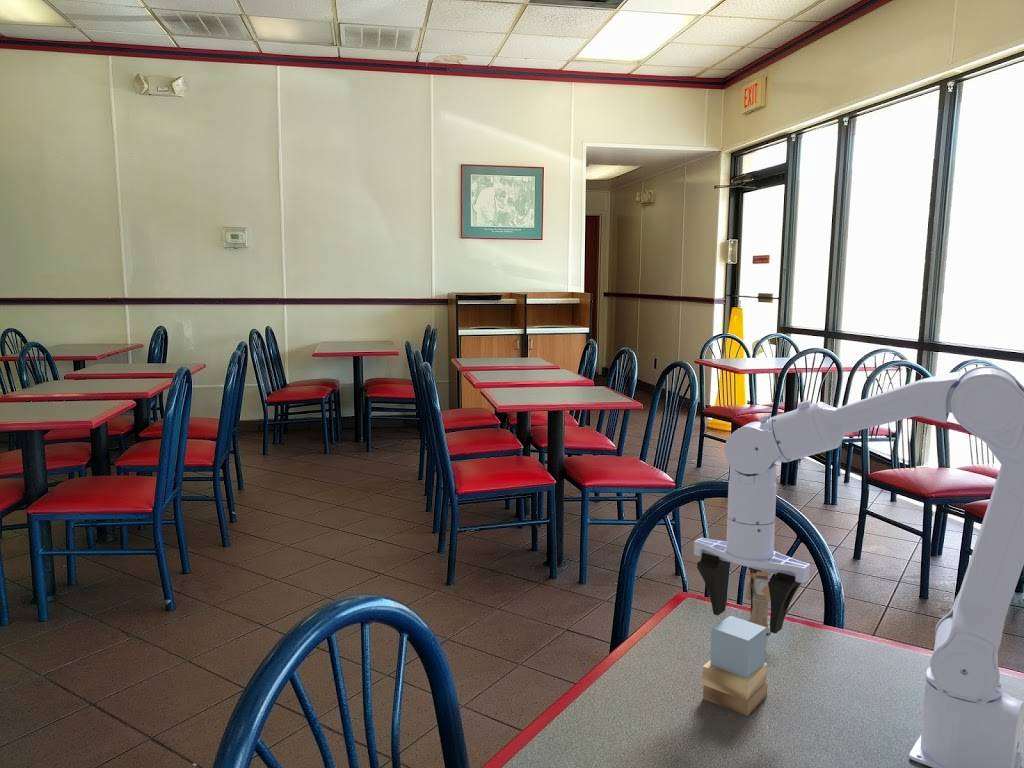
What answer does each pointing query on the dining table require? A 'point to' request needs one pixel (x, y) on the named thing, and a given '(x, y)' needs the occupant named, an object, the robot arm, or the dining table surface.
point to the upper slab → (733, 681)
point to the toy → (759, 597)
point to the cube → (738, 646)
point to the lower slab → (735, 699)
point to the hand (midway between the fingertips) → (746, 621)
